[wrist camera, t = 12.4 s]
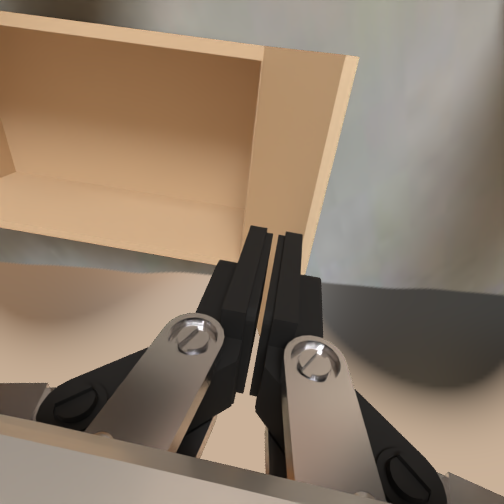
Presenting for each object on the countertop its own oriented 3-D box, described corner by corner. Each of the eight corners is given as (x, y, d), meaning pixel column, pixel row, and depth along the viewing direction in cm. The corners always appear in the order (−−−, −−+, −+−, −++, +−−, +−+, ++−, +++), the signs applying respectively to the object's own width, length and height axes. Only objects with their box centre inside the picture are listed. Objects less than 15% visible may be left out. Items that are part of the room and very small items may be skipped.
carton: (285, 49, 23) (275, 47, 15) (261, 217, 30) (246, 272, 22) (-32, 7, 24) (-187, -15, 17) (17, 176, 31) (-76, 216, 24)
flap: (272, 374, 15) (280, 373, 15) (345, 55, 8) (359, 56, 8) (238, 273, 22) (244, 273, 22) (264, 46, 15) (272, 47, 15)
